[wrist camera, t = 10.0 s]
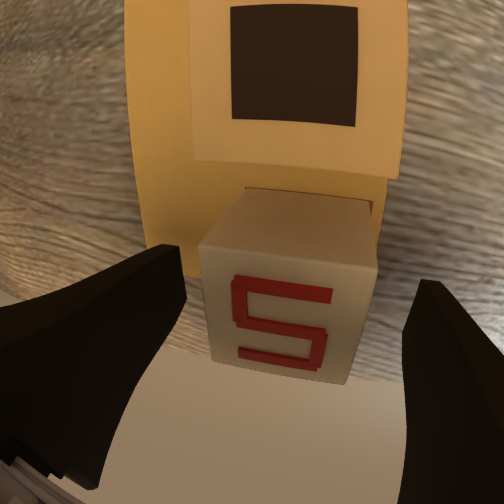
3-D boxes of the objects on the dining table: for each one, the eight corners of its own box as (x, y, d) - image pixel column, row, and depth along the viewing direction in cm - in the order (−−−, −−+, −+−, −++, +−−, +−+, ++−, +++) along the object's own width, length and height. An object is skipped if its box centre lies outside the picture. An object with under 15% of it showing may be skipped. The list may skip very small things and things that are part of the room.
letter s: (350, 300, 12) (344, 389, 8) (247, 285, 13) (209, 364, 9) (369, 200, 10) (379, 272, 6) (246, 187, 10) (193, 247, 7)
